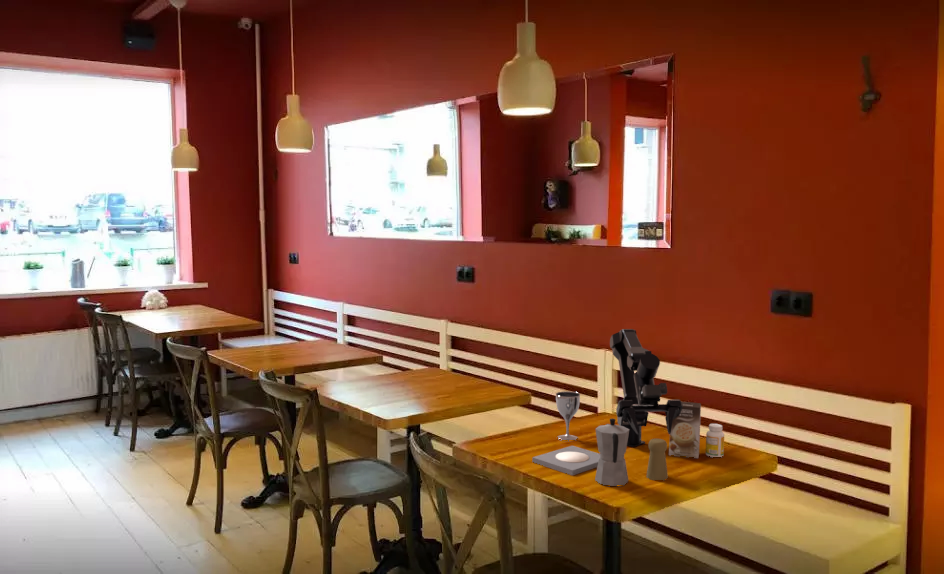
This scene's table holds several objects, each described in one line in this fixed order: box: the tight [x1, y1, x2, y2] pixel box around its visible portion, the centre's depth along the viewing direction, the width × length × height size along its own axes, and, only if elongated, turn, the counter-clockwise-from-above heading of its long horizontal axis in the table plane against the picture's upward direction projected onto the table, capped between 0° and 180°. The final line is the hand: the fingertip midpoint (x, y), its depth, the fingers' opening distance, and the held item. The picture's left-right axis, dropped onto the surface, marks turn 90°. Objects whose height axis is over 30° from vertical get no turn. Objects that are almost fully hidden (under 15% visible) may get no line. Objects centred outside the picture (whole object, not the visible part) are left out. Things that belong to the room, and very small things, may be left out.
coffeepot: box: [594, 418, 630, 487], centre depth 218 cm, size 15×9×18 cm, turn 176°
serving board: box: [531, 445, 600, 476], centre depth 236 cm, size 18×16×2 cm
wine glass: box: [555, 390, 581, 442], centre depth 261 cm, size 8×8×15 cm
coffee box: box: [668, 401, 702, 459], centre depth 243 cm, size 9×6×16 cm
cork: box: [646, 438, 669, 481], centre depth 223 cm, size 6×6×11 cm
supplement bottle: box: [705, 423, 725, 458], centre depth 242 cm, size 5×5×10 cm
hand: (653, 433), depth 227 cm, fingers open, 9 cm apart
